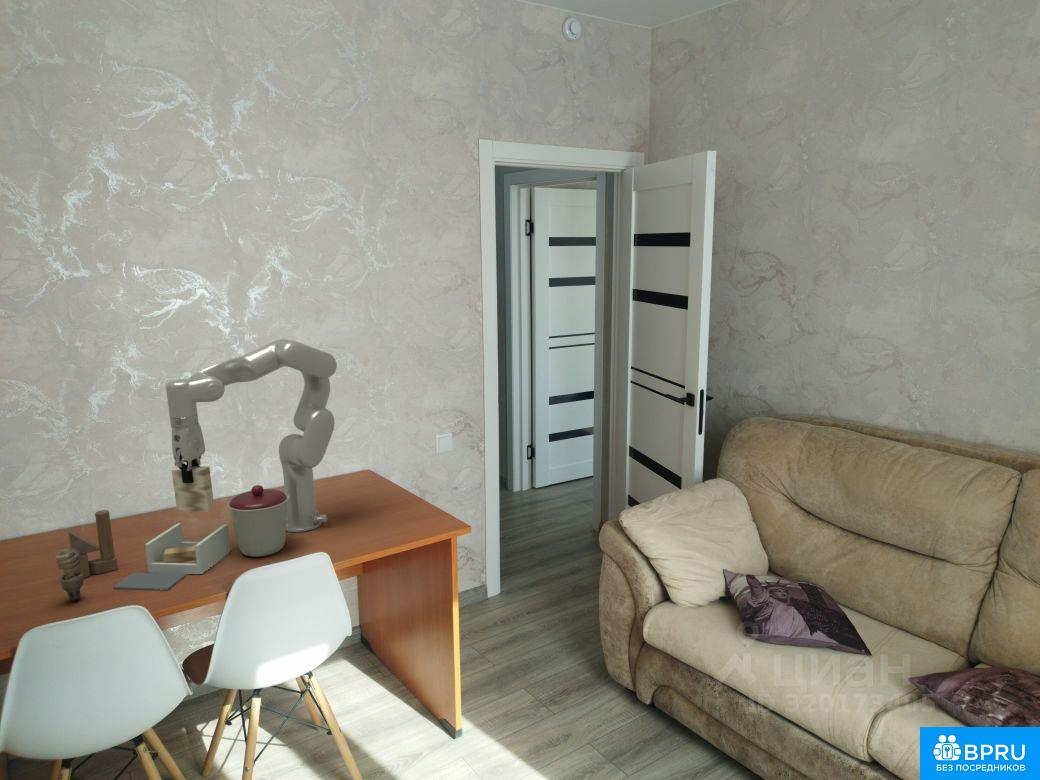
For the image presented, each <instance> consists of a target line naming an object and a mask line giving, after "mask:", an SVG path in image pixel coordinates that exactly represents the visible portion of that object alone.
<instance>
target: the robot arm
mask: <svg viewBox="0 0 1040 780" xmlns="http://www.w3.org/2000/svg"><path fill="white" fill-rule="evenodd" d="M283 367H287V368H292V369H294V370H296V371H299V372H300V373H301V374H302V377H303V382H304V387H303V391H302V394H301V397H300V400H299V402H298V405H297V407H296V411H295V412H294V416H293V425H294V427H295V428H296V429H298V430H299V431H301V432H303V434H297V433H291V434H288V435H286V436H284V437H283V438H282V440H281V441H280V443H279V446H278V455H279V456H278V457H279V459H280V464H281V468H282V474H283V488H284V489H283V490H284V493H286V494H288V495H289V500H288V501H287V525H286V532H289V533H302V532H308V531H312V530H316V529H317V528H319V527H320V526H322V523H328V521H329V519H328V516H327V514H320V511H319V510H318V509H316V497H315V482H314V471H313V468H315V467H317V466H319V464H320V463H321V462H322V461H323V459H324V458H325V455H326V452H327V450H328V447H329V444H330V441H331V438H332V436H333V432H334V430H335V429H334V428H335V417H334V414H333V413H332V412H331V410H329V409H328V408H327V407H326V406H327V403H328V400H329V397H330V393H331V381H330V377H332V376H333V375H334V374H335V372H336V371H337V367H338V364H337V361H336V358H335V357H334V356H333V355H332V354H330V353H329V352H327V351H323V350H320V349H318V348H317V349H316V348H315V347H312V346H309V345H306V344H304V343H301V342H299V341H295V340H288V339H283V338H282V339H277V340H274V341H272V342H269V343H268V344H265V345H262V346H261V347H258V348H256V349H254V350H252V351H250V352H248V353H245V354H242V355H241V356H237V357H234V358H231V359H229V360H228V359H227V360H225V361H222V362H219V363H216V364H213V365H211V366H209V367H206V368H204V369H202V370H200V371H198V372H195V373H194V374H193V375H191V376H190V377H189V378H188V379H186V378H185V379H184V378H183V379H181V378H180V379H174V380H169V381H168V382H167V383H166V384H165V385H166V386H165V390H166V391H165V392H166V398H167V405H168V413H169V421H170V428H171V448H172V449H171V450H172V456H173V460H174V466H175V467H179V468H180V471H181V474H182V481H183V483H193V482H194V480H193V473H192V470H190V469H191V467H197V466H201V458H202V456H203V455H204V454H205V452H206V446H205V445H206V444H205V440H204V435H203V430H202V427H201V424H200V422H199V414H198V407H197V403H211V402H216V401H218V400H220V399H221V398H222V397H223V396H224V395H225V390H226V389H225V388H226V386H229V385H233V384H236V383H237V384H238V383H249V382H252V381H257V380H258V379H260V378H263V377H265V376H266V375H269V374H271V373H274V372H275V371H277V370H279V369H281V368H283Z"/></svg>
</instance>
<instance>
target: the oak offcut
mask: <svg viewBox="0 0 1040 780" xmlns="http://www.w3.org/2000/svg"><path fill="white" fill-rule="evenodd" d="M163 555H164V563H177V562H184V561H192V560H196V553H195V546H187V547H179V548H171V549H165V552H164V554H163Z"/></svg>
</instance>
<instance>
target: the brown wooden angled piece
mask: <svg viewBox="0 0 1040 780" xmlns="http://www.w3.org/2000/svg"><path fill="white" fill-rule="evenodd" d="M94 513H95V514H94V517H95V523H96V531H97V539H98V540H97V541H98V545H97V544H95V543H93V542H92V541H90V540H88V539H86V538H84V537H82V536H81V535H78V533H75V532H74V531H72V530H70V529H68V530H67V533H68V540H69V546H70V547H69V548H75V549H78V550H79V551H80V555H79V556H80V563H81V564H80V566H79V567H78V568H77V572H81V573H82V574H83V579H85V578H88V577H90V576H91V575H100V574H105V573H108V572H112V571H116V570H118V569H119V567H118V559H117V557H116V554H115V547H114V540H113V531H112V524H111V516H110V515H111V514H110V511H109V509H108V510H107V509H103V510H98V511H96V512H94ZM98 551H99V553H100V557H99V558H96V559H91V560H89V558H88V554H89V553H93V552H94V553H95V552H98Z"/></svg>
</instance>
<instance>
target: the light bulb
mask: <svg viewBox="0 0 1040 780" xmlns="http://www.w3.org/2000/svg"><path fill="white" fill-rule="evenodd" d="M79 555H80V551H79V550H78V549H75V548H70V547H67V548H61V549H60V554H57V555H56V556H55V560H56V564H57V569H58V570H60V571H61V570H63V575H62V576H61V577H60V578H59V580H60V585H61V588H62V590H64V591H65V592H66V593H67V597H68V599H69V601H73V602H77V601H79V600H80V598H81V596H82V594H81V588H82V587H83V585H84V581H85V580H84V578H83V574H82V573H81V572H77V568H78V567H79V566H80V564H81V563H80V556H79Z"/></svg>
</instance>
